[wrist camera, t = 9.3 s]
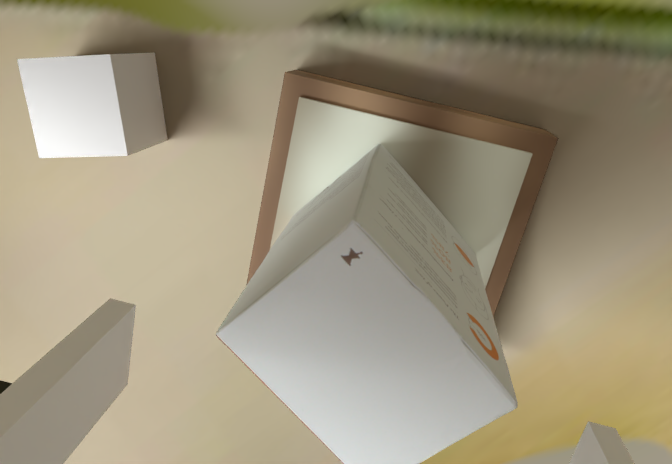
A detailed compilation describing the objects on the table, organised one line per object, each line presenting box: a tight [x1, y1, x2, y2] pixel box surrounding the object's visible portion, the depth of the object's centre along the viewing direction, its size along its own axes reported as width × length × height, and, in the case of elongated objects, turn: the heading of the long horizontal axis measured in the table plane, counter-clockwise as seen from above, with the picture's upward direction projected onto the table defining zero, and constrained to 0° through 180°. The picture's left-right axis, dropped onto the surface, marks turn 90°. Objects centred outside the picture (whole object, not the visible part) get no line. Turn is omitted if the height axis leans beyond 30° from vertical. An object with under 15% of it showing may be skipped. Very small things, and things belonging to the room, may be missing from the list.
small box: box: [216, 144, 518, 464], centre depth 23 cm, size 8×6×13 cm
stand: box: [246, 70, 558, 316], centre depth 31 cm, size 14×14×3 cm
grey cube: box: [17, 53, 168, 158], centre depth 30 cm, size 5×5×5 cm
